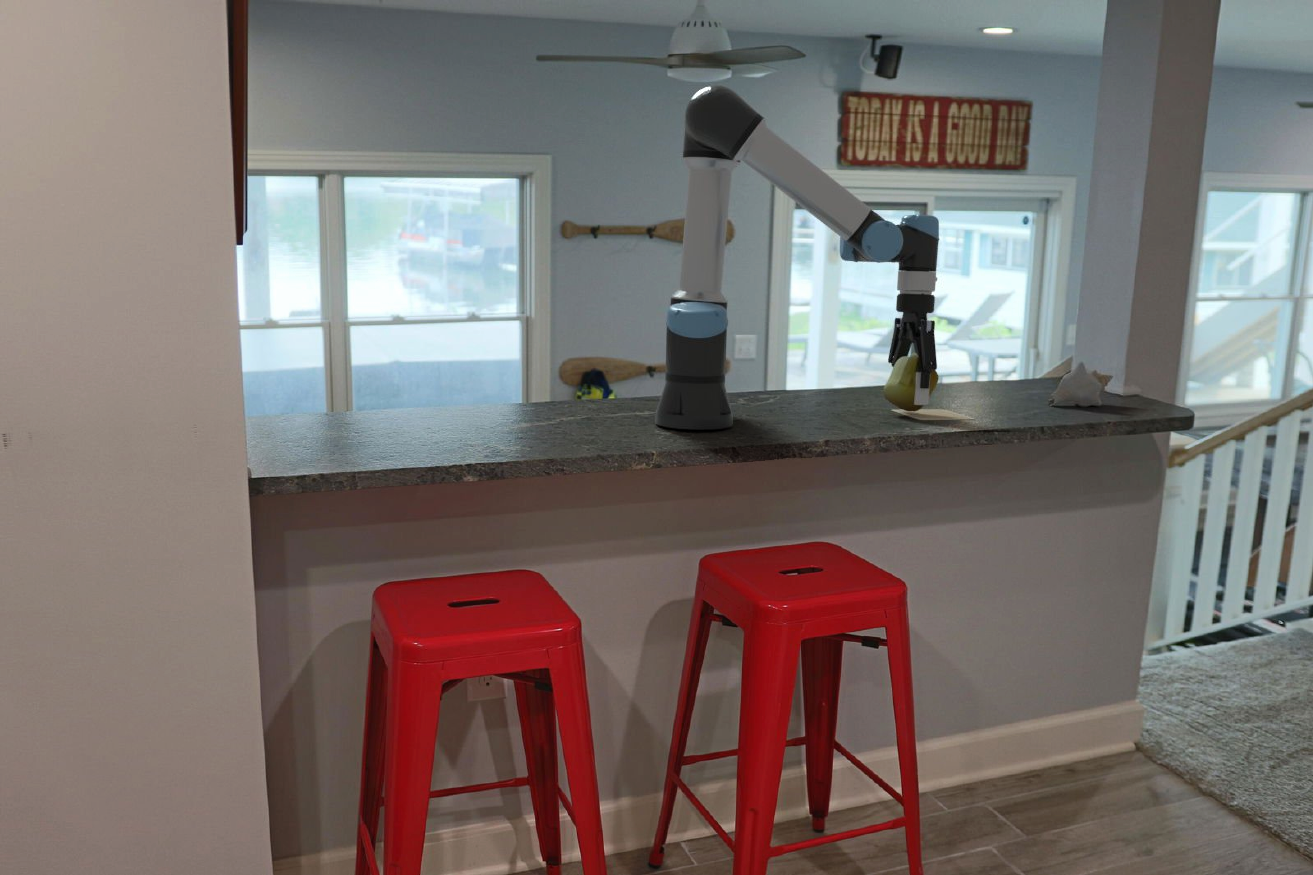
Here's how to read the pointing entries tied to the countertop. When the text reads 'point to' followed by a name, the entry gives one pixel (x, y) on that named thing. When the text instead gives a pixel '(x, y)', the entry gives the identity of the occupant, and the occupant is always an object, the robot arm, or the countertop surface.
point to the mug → (906, 383)
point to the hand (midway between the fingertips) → (909, 401)
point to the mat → (933, 414)
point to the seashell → (1081, 387)
